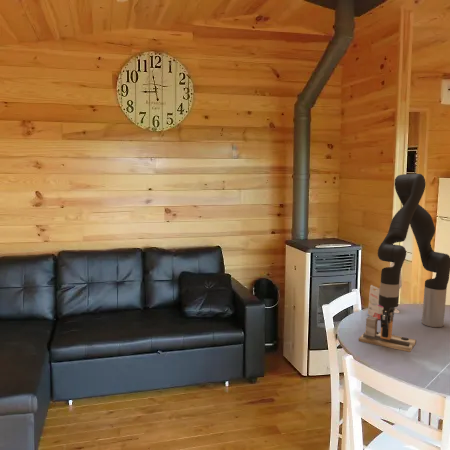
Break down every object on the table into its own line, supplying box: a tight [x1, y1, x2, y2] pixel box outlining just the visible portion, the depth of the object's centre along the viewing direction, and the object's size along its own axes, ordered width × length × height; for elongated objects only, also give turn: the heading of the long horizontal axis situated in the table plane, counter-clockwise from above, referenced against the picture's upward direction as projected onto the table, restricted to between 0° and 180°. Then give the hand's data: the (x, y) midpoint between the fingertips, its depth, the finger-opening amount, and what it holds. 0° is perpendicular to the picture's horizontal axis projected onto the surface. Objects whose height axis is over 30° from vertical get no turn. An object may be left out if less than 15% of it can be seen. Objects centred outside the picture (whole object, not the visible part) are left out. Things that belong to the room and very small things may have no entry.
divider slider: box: [380, 319, 394, 340], centre depth 197 cm, size 9×4×8 cm, turn 149°
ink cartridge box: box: [367, 284, 384, 320], centre depth 230 cm, size 9×5×15 cm, turn 17°
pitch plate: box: [358, 315, 417, 353], centre depth 198 cm, size 12×20×10 cm, turn 58°
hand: (386, 335), depth 195 cm, fingers closed on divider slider, 3 cm apart
